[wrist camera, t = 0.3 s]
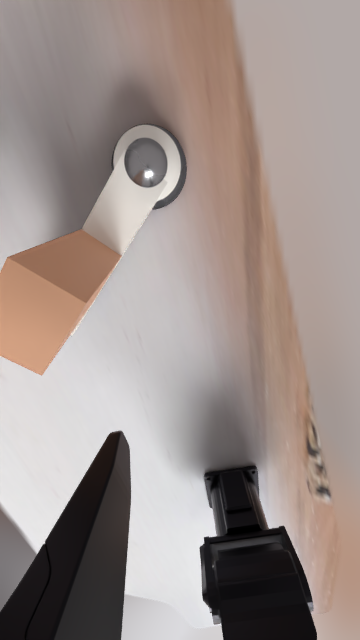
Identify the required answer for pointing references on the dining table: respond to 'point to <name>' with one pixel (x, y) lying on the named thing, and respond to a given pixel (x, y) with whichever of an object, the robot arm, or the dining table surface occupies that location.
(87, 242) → the link
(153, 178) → the pintle plate
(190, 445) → the dining table surface
